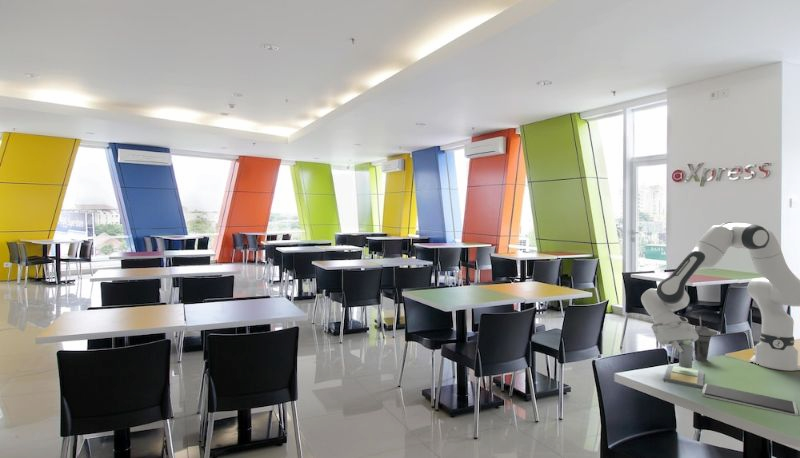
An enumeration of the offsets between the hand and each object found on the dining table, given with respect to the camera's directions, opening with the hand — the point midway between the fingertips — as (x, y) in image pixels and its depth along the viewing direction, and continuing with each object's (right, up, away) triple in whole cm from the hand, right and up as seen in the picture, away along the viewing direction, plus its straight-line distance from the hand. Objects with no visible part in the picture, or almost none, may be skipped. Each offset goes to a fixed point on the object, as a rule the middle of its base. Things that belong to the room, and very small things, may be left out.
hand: (687, 351), depth 194 cm
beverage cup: (+21, -10, +23) cm, 33 cm away
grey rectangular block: (0, -6, +1) cm, 6 cm away
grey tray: (+5, -11, -27) cm, 30 cm away
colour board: (-4, -9, -4) cm, 11 cm away
